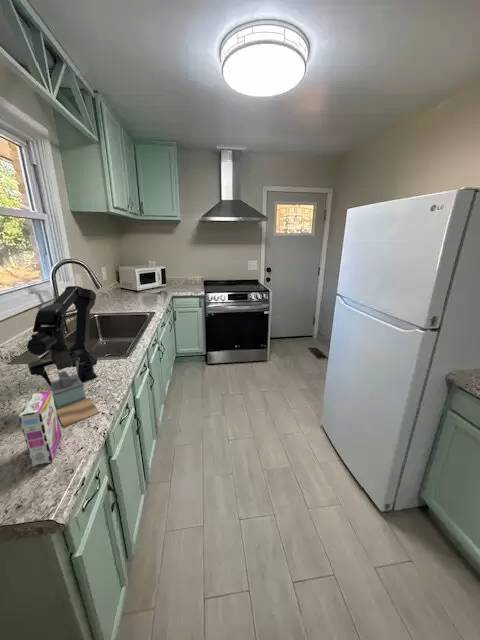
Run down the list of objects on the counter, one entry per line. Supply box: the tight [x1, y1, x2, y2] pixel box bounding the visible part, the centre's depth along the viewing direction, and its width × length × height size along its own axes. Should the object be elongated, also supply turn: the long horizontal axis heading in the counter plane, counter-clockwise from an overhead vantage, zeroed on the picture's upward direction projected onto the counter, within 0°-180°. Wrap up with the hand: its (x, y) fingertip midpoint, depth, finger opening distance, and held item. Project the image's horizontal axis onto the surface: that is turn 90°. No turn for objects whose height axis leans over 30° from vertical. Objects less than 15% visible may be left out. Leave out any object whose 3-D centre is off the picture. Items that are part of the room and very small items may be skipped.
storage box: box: [49, 386, 87, 409], centre depth 102 cm, size 10×9×6 cm
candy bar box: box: [18, 390, 62, 468], centre depth 75 cm, size 11×5×16 cm, turn 21°
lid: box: [47, 370, 84, 396], centre depth 101 cm, size 10×9×6 cm
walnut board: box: [56, 397, 101, 428], centre depth 95 cm, size 12×11×1 cm
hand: (65, 381), depth 101 cm, fingers open, 9 cm apart
